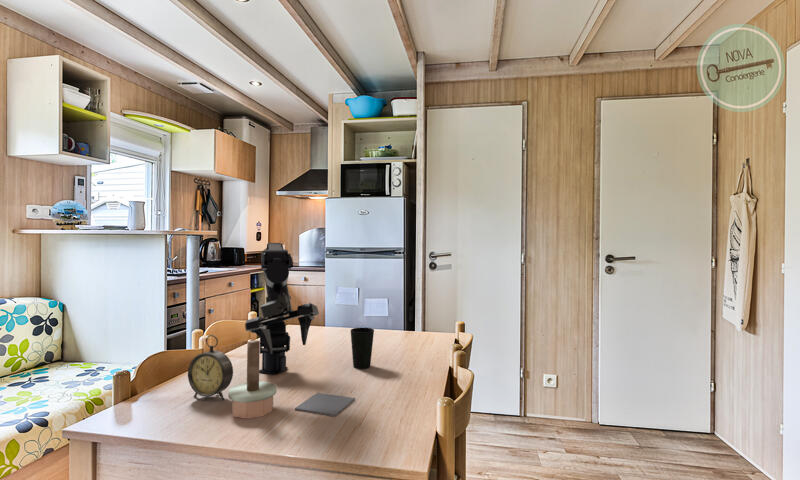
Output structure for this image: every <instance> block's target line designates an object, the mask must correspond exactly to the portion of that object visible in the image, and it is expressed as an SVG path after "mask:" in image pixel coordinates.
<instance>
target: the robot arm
mask: <svg viewBox="0 0 800 480" xmlns="http://www.w3.org/2000/svg"><path fill="white" fill-rule="evenodd" d="M288 251H289V250H288V249H284V244H283V243H281V242H269V243H266V248H264V250H262V251H261V255H260V256H261V257H260V260H261V261H260V264H261V265H260V267H261V268H260V269H261V270H262V271H263V273H262V275H263V277H264V283H265V289H266V290H265V291H266V297H265V303H264V304H262V305H260V307H259V308H260V311H261V315H262V317H261V316H257V317H254V318H251V319H247V320H246V321H245V324H244V328H245V331H246V332H250V333H251V334H256V335H257V336H258V337H259V341H260V354H259V355H261V354H262V355H261V356H262V357H261V358H262V360H261V369H259V373H262V374H267V375H268V374H269V375H279V374H280V373H283V372H285V371H286V370H288V368H289V367H288V366H287V356H286V353H288V351H290V349H291V336H290V334H289V332H288V331H287V325H286V322H285V321H288V320H291V319H295V318H297V319H298V323H299V328H300V336H301V343H302V346H306V345H307V339H308V334H309V331H310V330H309V329H310V327H311V324H312V320H314V319H315V316H318V315H320V313H319V309H318V306H317V305H315V304H314V303H310V302H308V303H305V304H300V305H298V306H297V308H296V309H295V310H294V309H293V308H292V303H291V300H292V297H291V295H290V291H289V287H288V281H289V274H290V270H291V269H292V268H294V260H293V257H292V255H291V253H289V252H288Z"/></svg>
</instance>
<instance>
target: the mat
mask: <svg viewBox="0 0 800 480" xmlns="http://www.w3.org/2000/svg"><path fill="white" fill-rule="evenodd" d="M355 400H356V398H355V397H349V396H344V395H336V394H330V393H329V394H328V393H323V392H316V393H315V394H313V395H312V396H311V397H309V398H307V399H306V400H305V401H303V402H301V403H300V404H299V405H297V406H296V407H294V410H295V411H301V412H305V413H312V414H316V415H317V414H319V415H324V416H330V417H337V416H338V415H339V414H340V413H341V412H343V411H344V410H345V409H346V408H347V407H348V406H349V405H350V404H352V403H353V402H354V401H355Z"/></svg>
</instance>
